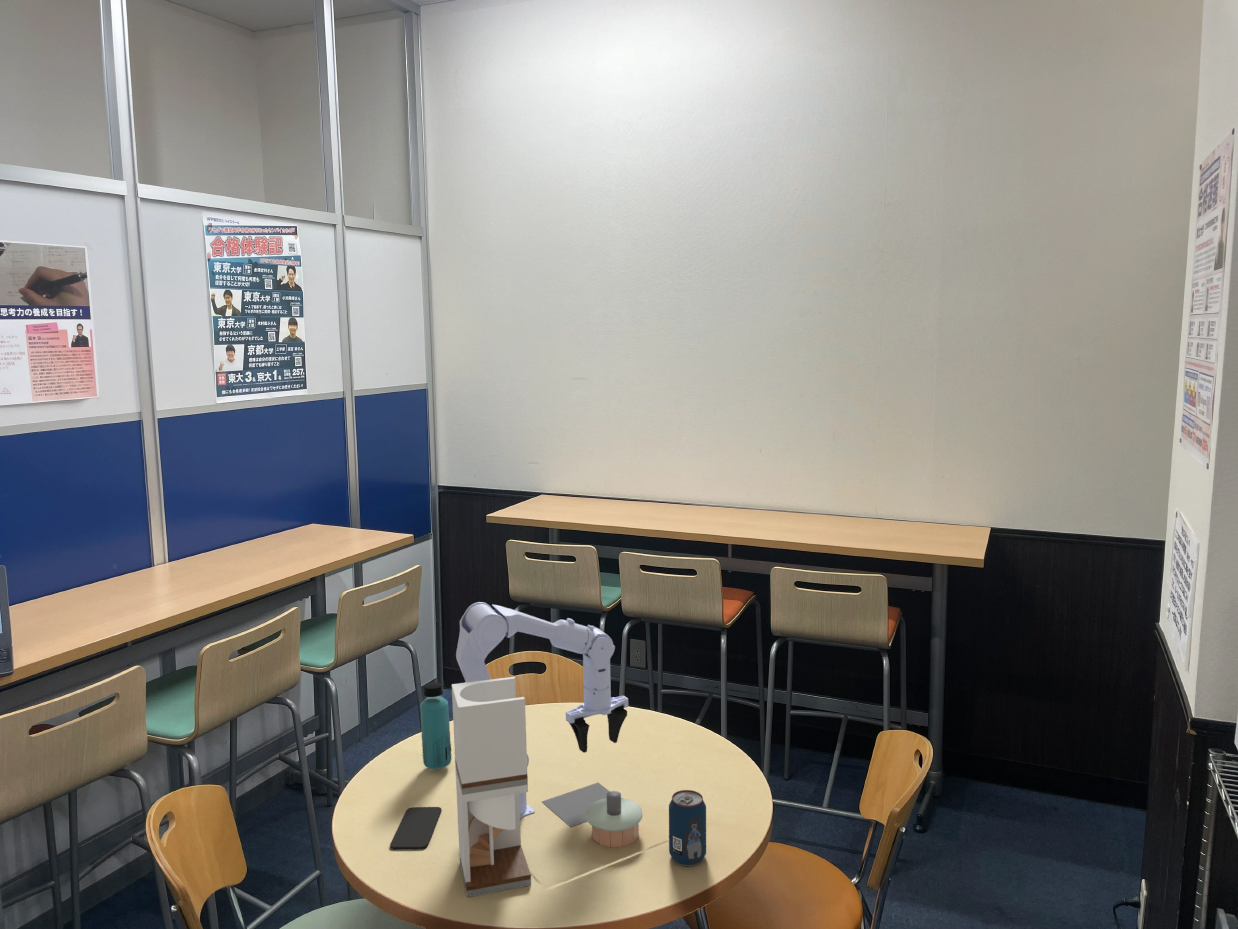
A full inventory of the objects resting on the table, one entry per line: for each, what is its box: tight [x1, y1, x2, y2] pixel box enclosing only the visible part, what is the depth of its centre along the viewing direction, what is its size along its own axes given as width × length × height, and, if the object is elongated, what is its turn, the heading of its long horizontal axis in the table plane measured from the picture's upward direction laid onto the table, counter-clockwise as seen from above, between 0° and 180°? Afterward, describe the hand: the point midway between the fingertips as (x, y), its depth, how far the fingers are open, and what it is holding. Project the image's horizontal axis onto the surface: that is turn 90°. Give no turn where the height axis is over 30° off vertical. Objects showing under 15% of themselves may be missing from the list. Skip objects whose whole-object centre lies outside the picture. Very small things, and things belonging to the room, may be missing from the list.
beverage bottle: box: [419, 681, 453, 770], centre depth 204 cm, size 6×7×20 cm
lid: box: [586, 790, 643, 831], centre depth 177 cm, size 11×11×4 cm
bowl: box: [591, 822, 640, 848], centre depth 177 cm, size 9×9×4 cm
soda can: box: [668, 789, 707, 867], centre depth 169 cm, size 7×7×12 cm
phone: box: [389, 806, 443, 851], centre depth 181 cm, size 7×1×15 cm
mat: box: [541, 782, 611, 828], centre depth 189 cm, size 14×12×1 cm
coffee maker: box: [451, 676, 532, 898], centre depth 163 cm, size 11×11×35 cm
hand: (598, 746), depth 194 cm, fingers open, 7 cm apart
